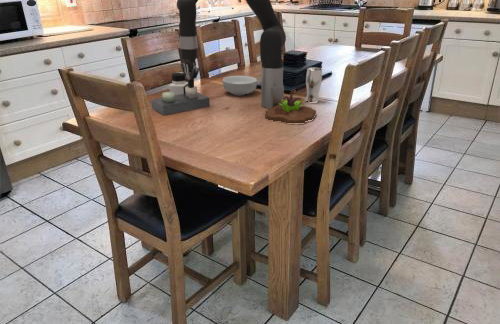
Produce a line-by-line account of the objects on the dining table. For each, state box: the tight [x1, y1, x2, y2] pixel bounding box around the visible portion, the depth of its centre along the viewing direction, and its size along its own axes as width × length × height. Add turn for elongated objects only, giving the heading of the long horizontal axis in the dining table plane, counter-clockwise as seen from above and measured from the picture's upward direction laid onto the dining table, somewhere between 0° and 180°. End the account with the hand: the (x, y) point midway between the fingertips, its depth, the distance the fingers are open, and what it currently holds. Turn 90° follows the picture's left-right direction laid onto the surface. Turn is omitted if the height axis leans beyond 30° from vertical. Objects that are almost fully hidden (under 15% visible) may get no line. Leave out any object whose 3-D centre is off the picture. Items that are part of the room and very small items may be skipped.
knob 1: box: [161, 91, 175, 103], centre depth 173 cm, size 5×5×7 cm
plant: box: [264, 88, 317, 124], centre depth 165 cm, size 20×20×11 cm
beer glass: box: [305, 66, 323, 102], centre depth 183 cm, size 7×7×15 cm
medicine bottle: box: [168, 71, 188, 95], centre depth 188 cm, size 7×7×12 cm
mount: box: [150, 91, 211, 116], centre depth 177 cm, size 12×22×4 cm, turn 125°
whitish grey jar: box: [185, 85, 198, 99], centre depth 179 cm, size 5×5×7 cm
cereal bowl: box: [222, 75, 258, 96], centre depth 197 cm, size 17×17×7 cm
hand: (191, 87), depth 178 cm, fingers closed
